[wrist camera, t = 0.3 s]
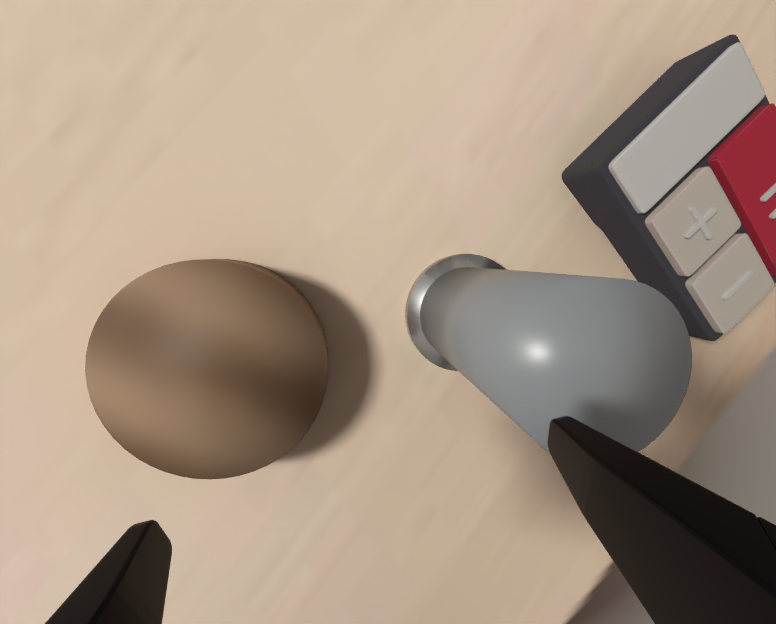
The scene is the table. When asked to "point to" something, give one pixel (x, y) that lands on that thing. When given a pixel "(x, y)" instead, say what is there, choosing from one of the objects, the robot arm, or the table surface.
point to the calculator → (691, 187)
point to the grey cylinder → (555, 345)
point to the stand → (207, 367)
